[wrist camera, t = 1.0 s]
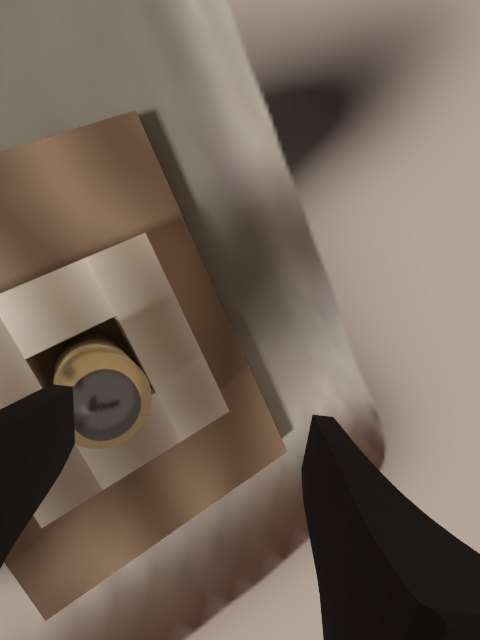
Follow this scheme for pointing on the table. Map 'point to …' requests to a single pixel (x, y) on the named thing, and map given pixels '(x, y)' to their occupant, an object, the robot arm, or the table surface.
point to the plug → (103, 390)
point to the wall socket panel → (135, 341)
